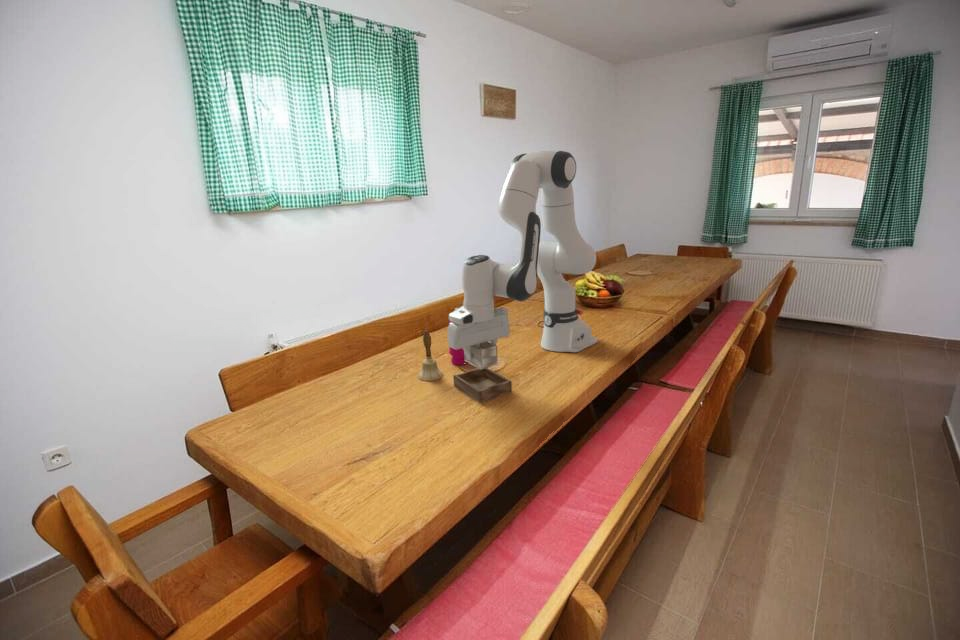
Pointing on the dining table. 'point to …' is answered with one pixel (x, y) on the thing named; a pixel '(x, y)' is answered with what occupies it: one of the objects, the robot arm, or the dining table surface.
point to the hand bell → (429, 362)
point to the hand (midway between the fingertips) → (480, 356)
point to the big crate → (482, 384)
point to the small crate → (483, 355)
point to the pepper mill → (457, 354)
